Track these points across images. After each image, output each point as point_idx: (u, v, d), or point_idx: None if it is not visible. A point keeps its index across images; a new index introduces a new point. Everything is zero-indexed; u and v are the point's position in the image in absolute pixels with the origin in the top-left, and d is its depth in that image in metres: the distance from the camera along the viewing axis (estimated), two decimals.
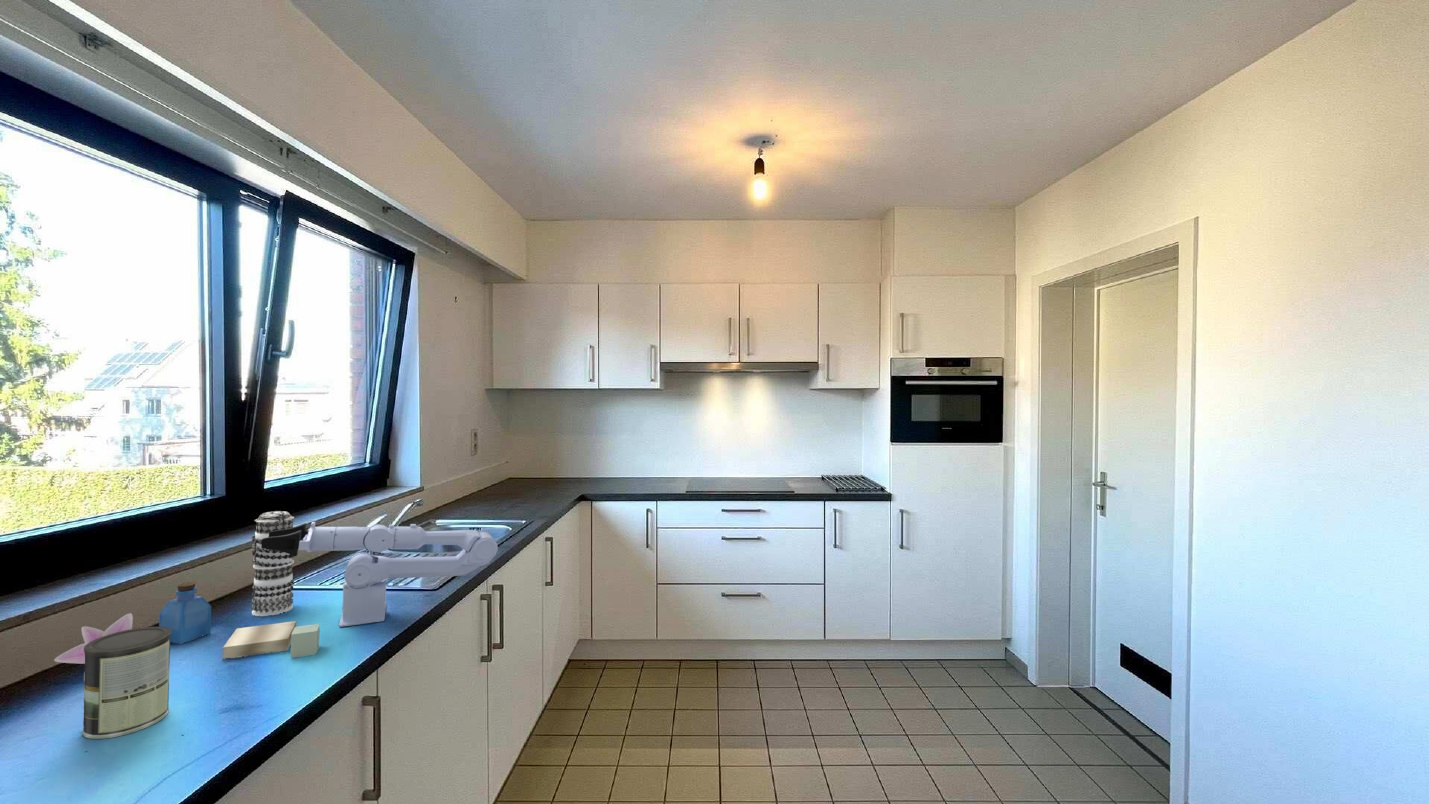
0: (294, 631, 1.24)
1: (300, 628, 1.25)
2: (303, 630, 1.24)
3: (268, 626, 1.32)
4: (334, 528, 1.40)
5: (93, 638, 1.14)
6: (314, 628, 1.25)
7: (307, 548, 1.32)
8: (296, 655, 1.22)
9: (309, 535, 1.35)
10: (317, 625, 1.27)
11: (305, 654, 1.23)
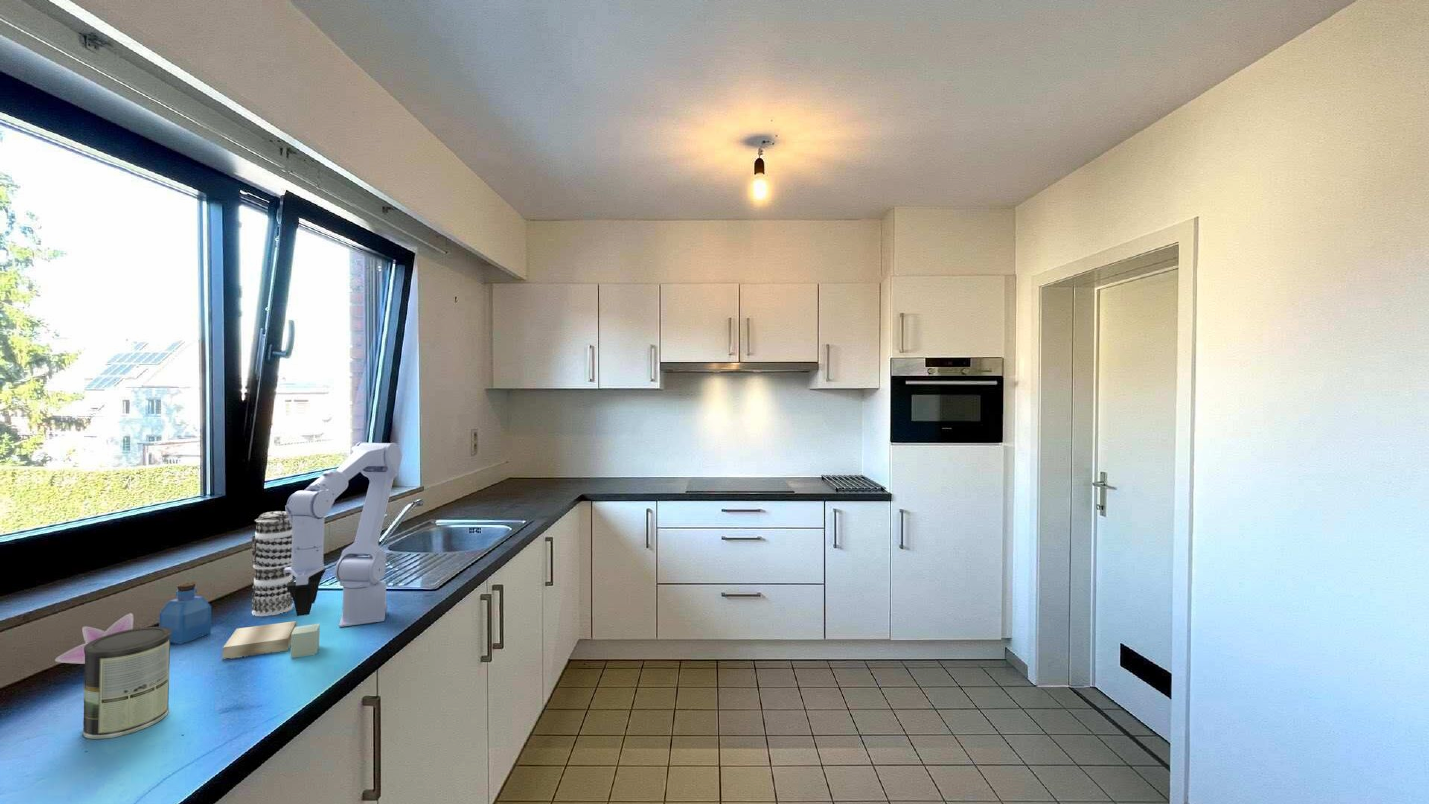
0: (294, 631, 1.24)
1: (300, 628, 1.25)
2: (303, 630, 1.24)
3: (268, 626, 1.32)
4: (292, 549, 1.23)
5: (94, 638, 1.14)
6: (314, 628, 1.25)
7: (305, 576, 1.19)
8: (296, 655, 1.22)
9: (294, 574, 1.20)
10: (317, 625, 1.27)
11: (305, 654, 1.23)
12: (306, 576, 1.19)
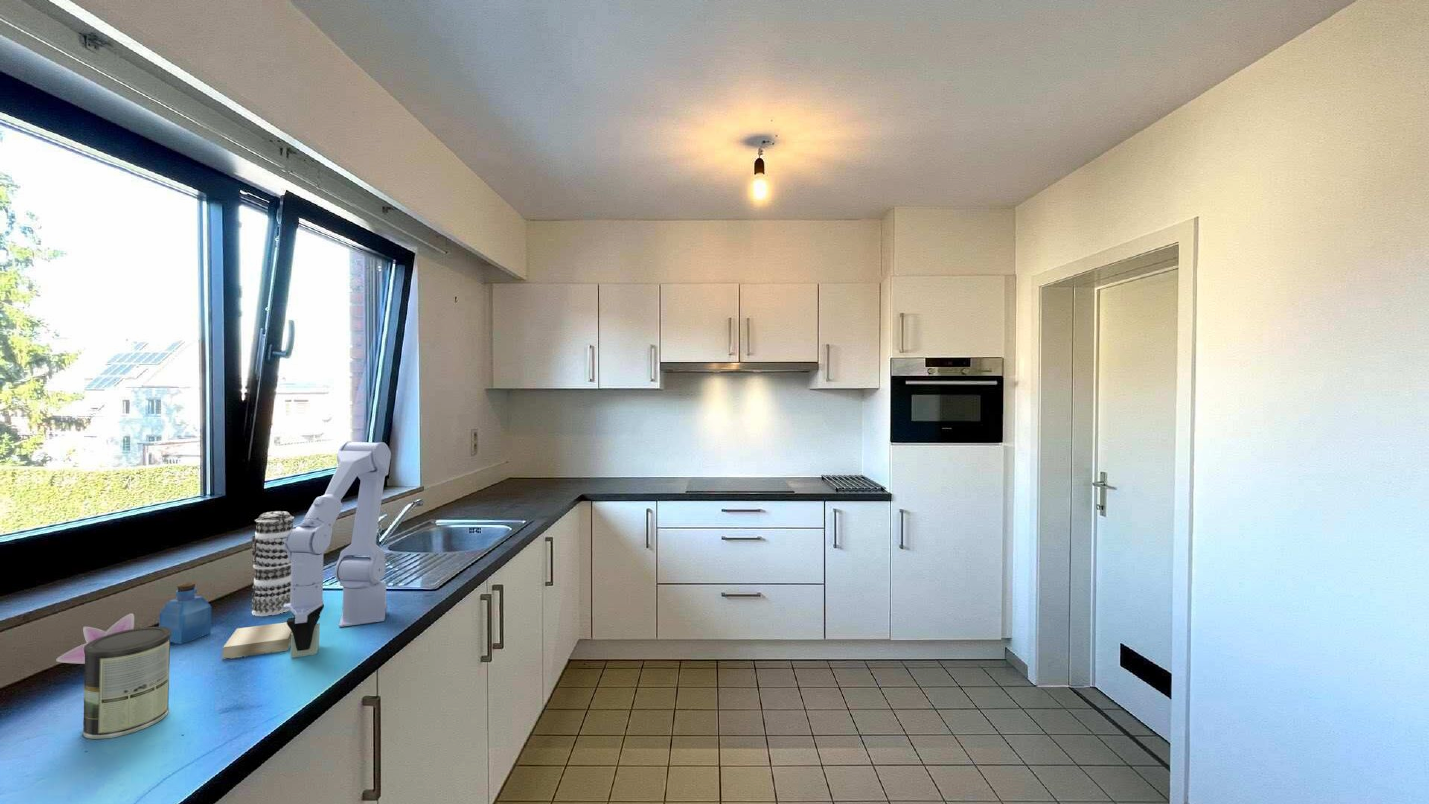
0: None
1: None
2: None
3: (268, 626, 1.32)
4: (291, 586, 1.23)
5: (95, 638, 1.14)
6: (314, 628, 1.25)
7: (304, 614, 1.19)
8: (296, 655, 1.22)
9: (293, 612, 1.20)
10: (317, 625, 1.27)
11: (305, 654, 1.23)
12: (305, 614, 1.19)
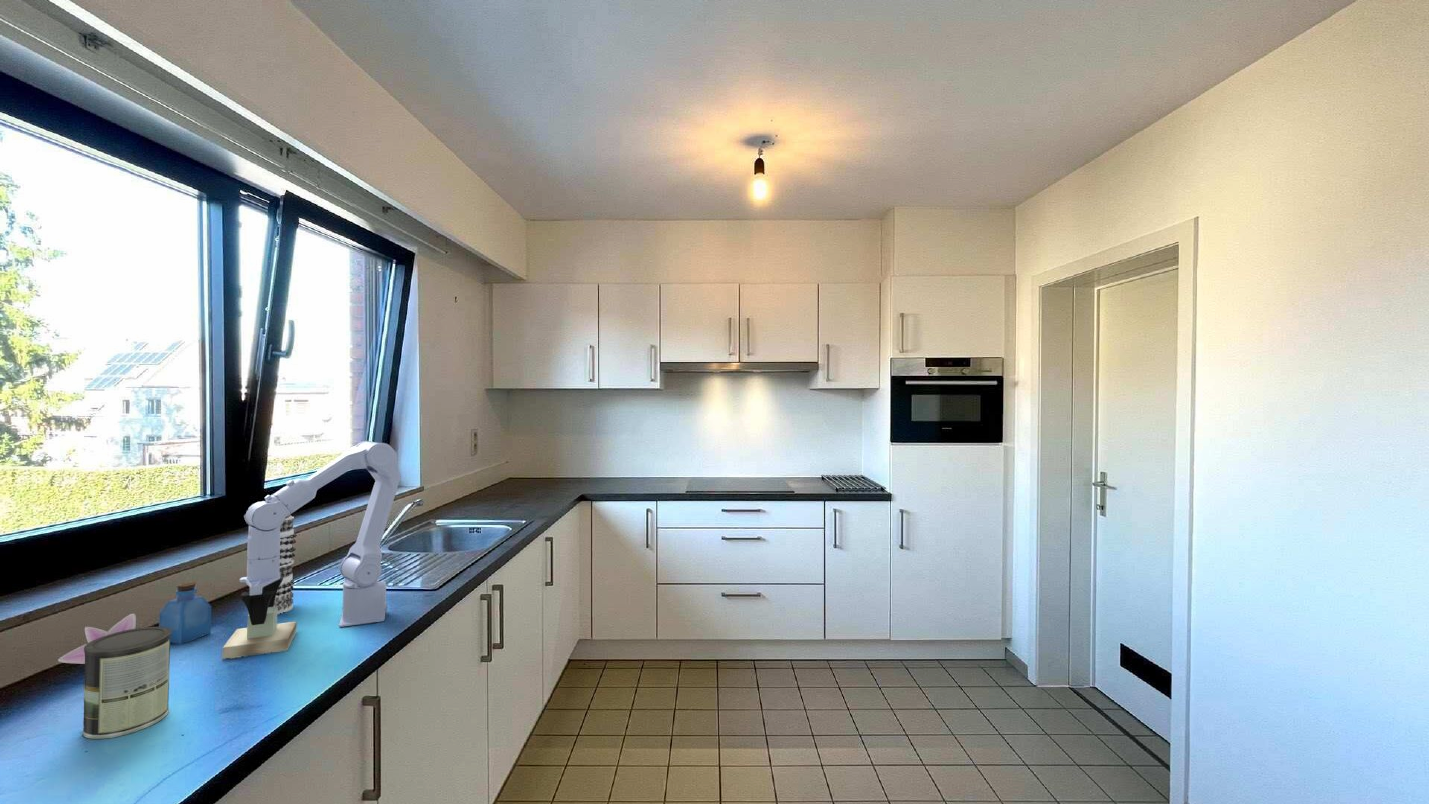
0: None
1: None
2: None
3: None
4: (247, 560, 1.26)
5: (97, 638, 1.14)
6: (271, 610, 1.28)
7: (259, 586, 1.22)
8: (252, 636, 1.25)
9: (248, 584, 1.23)
10: (274, 607, 1.30)
11: (261, 635, 1.26)
12: (260, 586, 1.22)
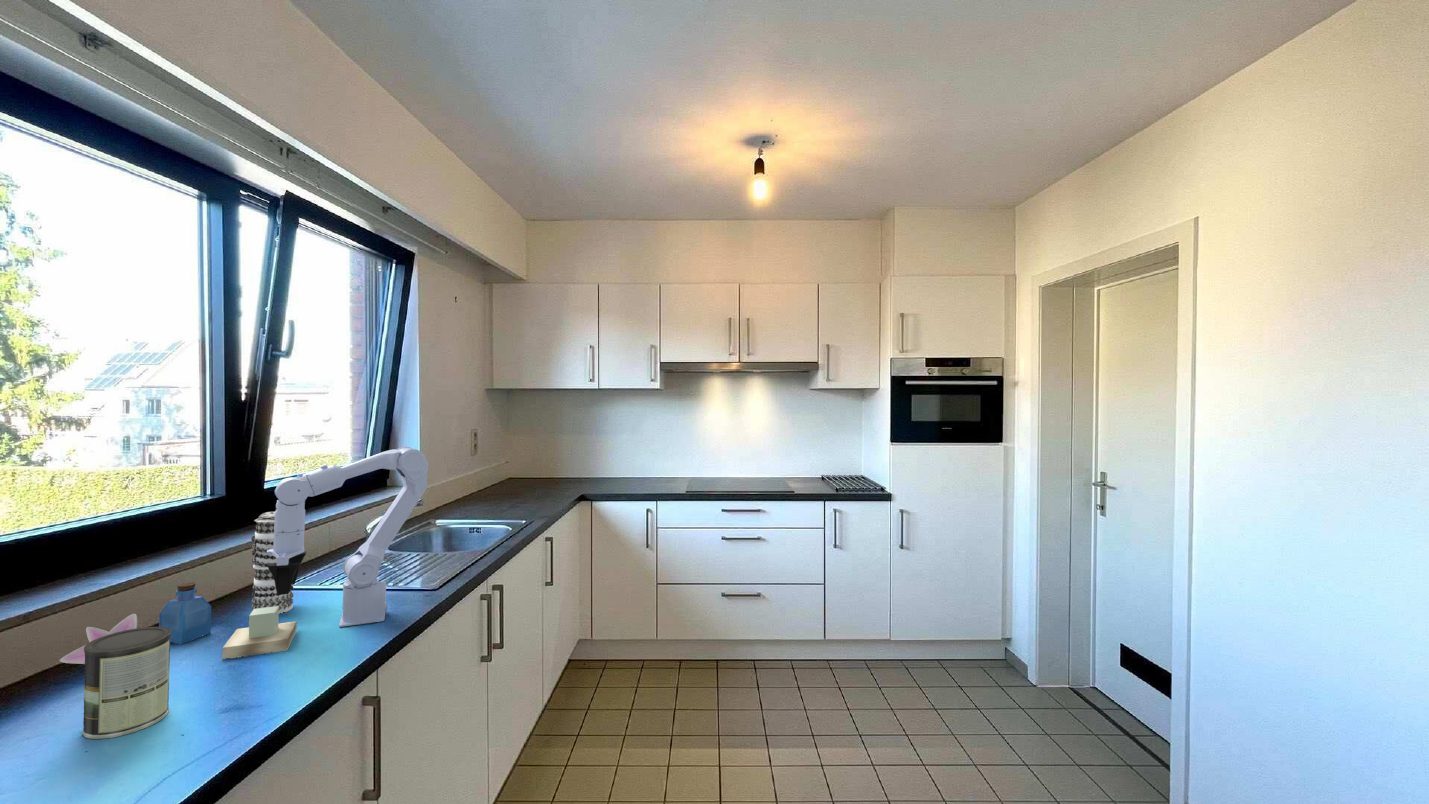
0: (252, 612, 1.27)
1: (259, 610, 1.28)
2: (261, 612, 1.27)
3: None
4: (274, 532, 1.32)
5: None
6: (272, 610, 1.28)
7: (286, 557, 1.28)
8: (254, 636, 1.26)
9: (275, 556, 1.29)
10: (276, 607, 1.30)
11: (263, 635, 1.26)
12: (286, 557, 1.28)
